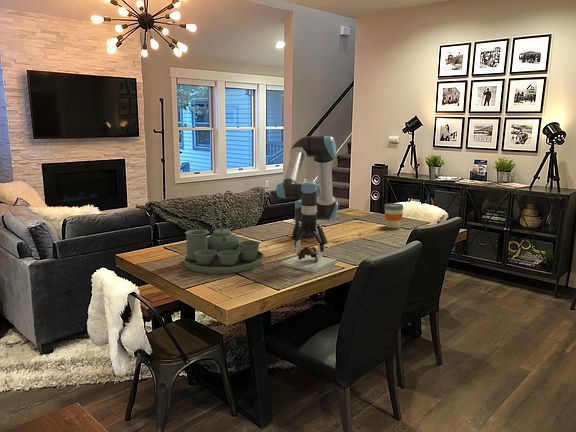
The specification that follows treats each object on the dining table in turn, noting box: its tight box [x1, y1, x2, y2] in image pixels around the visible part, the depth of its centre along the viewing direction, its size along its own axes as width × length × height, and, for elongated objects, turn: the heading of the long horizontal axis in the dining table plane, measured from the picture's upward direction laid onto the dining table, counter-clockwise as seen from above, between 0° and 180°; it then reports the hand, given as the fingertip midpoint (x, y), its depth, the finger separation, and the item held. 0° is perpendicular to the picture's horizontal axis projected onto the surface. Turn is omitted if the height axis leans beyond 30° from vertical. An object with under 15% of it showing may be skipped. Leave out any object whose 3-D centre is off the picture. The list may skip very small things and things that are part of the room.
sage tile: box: [280, 255, 338, 273], centre depth 231 cm, size 20×20×2 cm
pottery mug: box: [296, 246, 318, 263], centre depth 231 cm, size 12×10×8 cm
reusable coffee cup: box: [383, 202, 404, 229], centre depth 313 cm, size 13×13×15 cm
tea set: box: [183, 227, 265, 275], centre depth 234 cm, size 40×40×16 cm
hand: (309, 255), depth 230 cm, fingers open, 13 cm apart
